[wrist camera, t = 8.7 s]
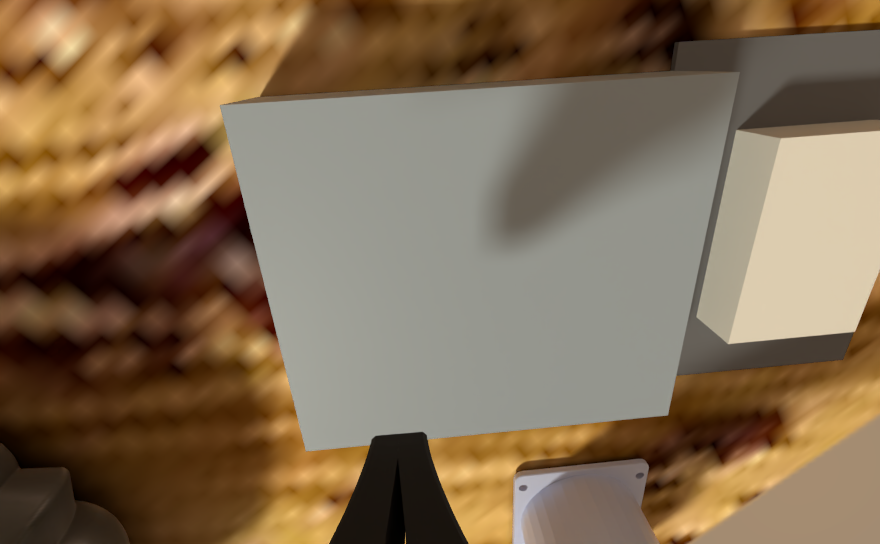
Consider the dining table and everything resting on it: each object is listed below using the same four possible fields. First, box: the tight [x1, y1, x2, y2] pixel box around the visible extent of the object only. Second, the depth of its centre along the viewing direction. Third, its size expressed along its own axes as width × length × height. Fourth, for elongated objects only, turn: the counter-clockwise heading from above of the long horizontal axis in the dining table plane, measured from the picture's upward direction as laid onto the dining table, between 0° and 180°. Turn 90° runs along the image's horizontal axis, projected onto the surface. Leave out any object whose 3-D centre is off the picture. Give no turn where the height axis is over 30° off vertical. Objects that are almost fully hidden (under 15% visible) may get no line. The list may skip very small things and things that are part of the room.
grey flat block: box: [220, 71, 740, 451], centre depth 18 cm, size 14×16×4 cm
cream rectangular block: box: [696, 120, 880, 344], centre depth 19 cm, size 9×6×2 cm, turn 3°
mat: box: [670, 30, 880, 376], centre depth 21 cm, size 16×12×1 cm
